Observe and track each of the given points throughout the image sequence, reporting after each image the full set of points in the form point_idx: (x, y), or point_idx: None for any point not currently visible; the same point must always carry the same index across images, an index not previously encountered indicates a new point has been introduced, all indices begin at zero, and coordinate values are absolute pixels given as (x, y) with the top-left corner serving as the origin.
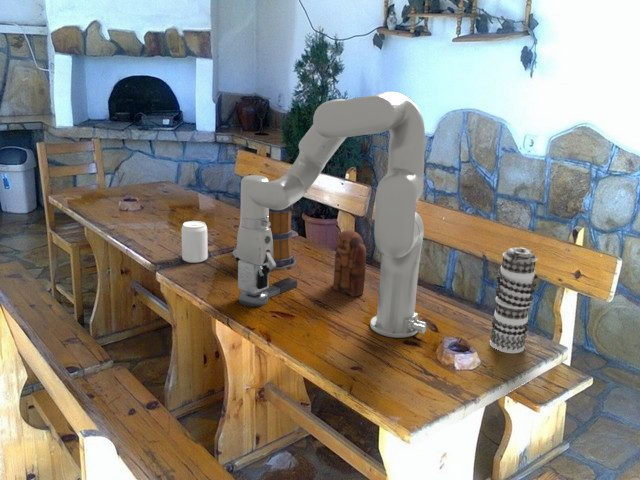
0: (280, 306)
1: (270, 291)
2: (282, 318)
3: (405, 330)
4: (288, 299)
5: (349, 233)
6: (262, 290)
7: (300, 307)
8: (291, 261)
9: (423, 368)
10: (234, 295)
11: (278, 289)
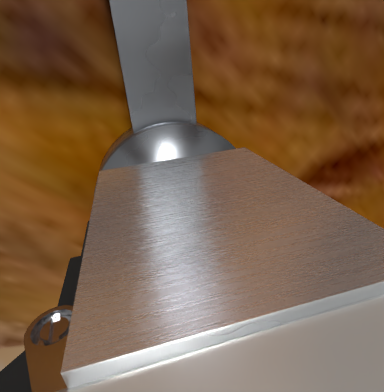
0: (293, 125)
1: (187, 84)
2: (358, 191)
3: None
4: (271, 25)
5: None
6: (179, 144)
7: (366, 55)
8: None
9: None
10: (52, 222)
11: (185, 3)
